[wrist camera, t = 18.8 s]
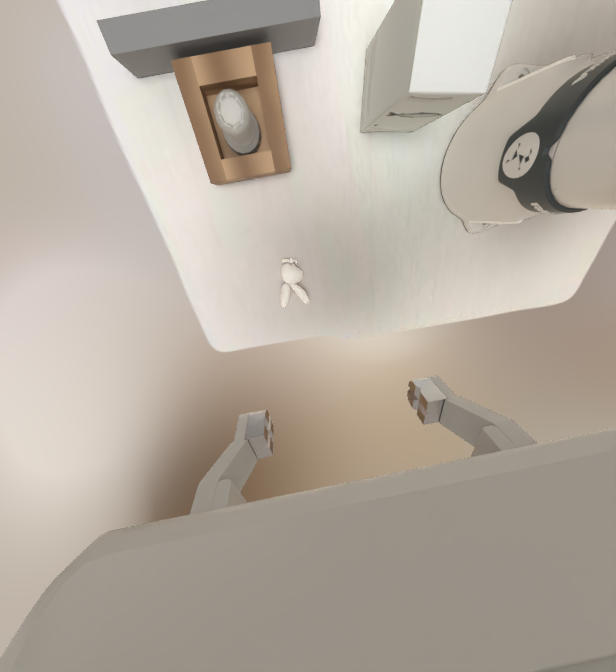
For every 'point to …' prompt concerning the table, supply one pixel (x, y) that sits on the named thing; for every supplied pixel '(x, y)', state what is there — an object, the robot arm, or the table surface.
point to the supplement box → (429, 60)
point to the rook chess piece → (237, 122)
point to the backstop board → (207, 31)
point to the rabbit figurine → (291, 282)
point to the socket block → (258, 92)
